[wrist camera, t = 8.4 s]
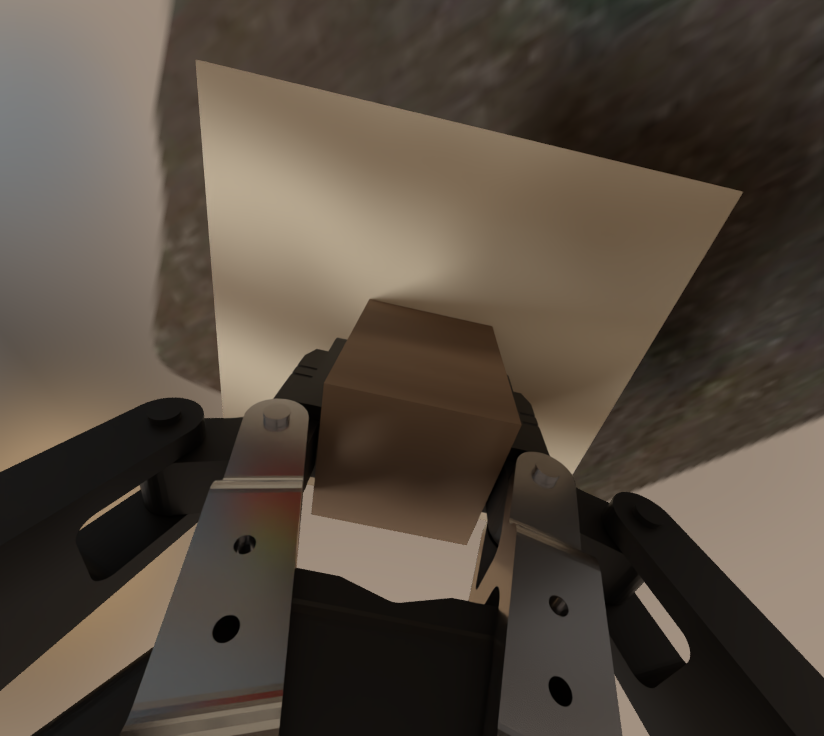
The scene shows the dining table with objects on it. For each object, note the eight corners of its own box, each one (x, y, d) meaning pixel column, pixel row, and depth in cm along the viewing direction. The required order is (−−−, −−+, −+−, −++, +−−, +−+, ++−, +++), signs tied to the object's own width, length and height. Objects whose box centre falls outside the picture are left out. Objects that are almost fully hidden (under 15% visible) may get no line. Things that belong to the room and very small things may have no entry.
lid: (214, 67, 9) (-50, -42, 4) (722, 189, 10) (1008, 218, 5) (236, 455, 16) (144, 585, 11) (534, 516, 17) (572, 666, 12)
